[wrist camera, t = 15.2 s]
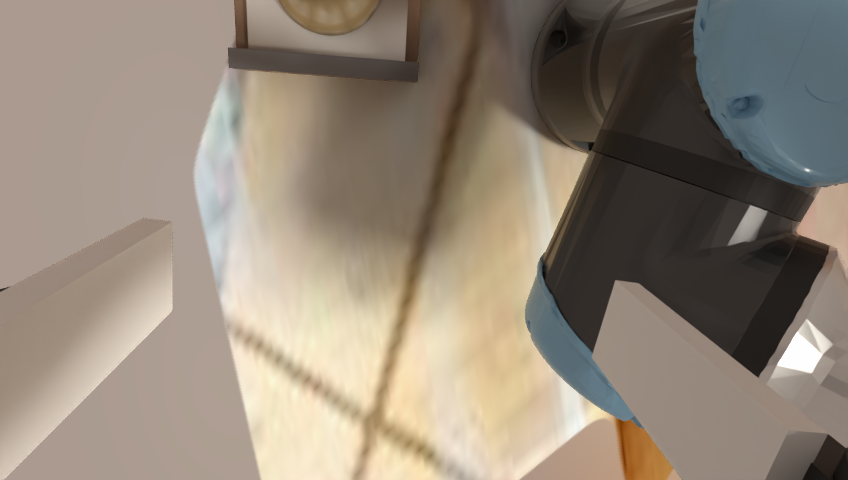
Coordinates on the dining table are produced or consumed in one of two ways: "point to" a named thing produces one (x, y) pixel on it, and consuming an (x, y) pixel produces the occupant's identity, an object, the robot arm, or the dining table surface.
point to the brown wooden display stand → (328, 43)
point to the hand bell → (330, 14)
